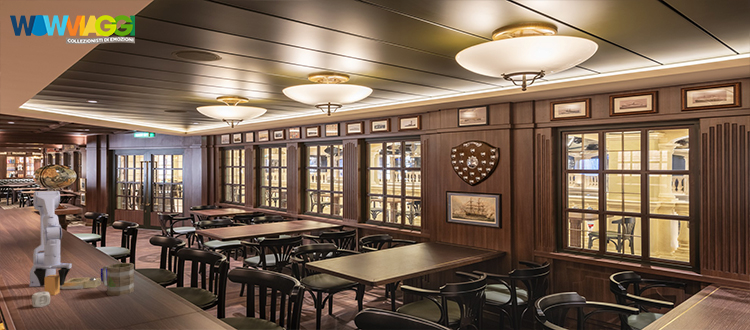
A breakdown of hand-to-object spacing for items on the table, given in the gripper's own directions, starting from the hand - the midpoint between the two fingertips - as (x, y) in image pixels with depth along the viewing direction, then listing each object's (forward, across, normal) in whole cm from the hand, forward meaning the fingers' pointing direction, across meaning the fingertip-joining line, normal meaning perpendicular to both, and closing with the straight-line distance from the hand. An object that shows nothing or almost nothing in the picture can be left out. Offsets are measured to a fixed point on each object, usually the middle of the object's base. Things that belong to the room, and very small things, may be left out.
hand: (52, 285), depth 193 cm
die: (+4, +4, -16) cm, 17 cm away
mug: (+4, +26, 0) cm, 26 cm away
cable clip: (+4, +14, +26) cm, 30 cm away
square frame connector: (+4, +5, +11) cm, 13 cm away
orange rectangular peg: (+4, 0, 0) cm, 4 cm away
